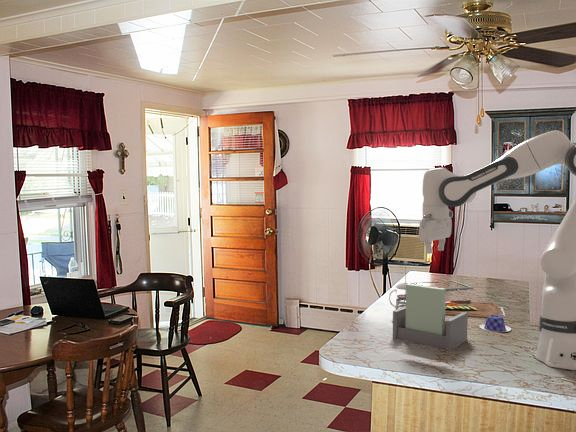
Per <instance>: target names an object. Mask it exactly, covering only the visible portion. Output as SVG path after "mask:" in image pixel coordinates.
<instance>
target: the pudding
mask: <svg viewBox="0 0 576 432" xmlns="http://www.w3.org/2000/svg"><path fill="white" fill-rule="evenodd" d="M479 328H480V329H481V330H484V331H488V332H492V333H506V332H510V331H511V330H512V328H511V327H510V326H507V325H506V324H505V319H504V316H498V315H489V316H488V317H487V318H486V321H485V323H482V324H480V325H479Z"/></svg>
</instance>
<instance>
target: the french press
mask: <svg viewBox="0 0 576 432" xmlns="http://www.w3.org/2000/svg"><path fill="white" fill-rule="evenodd" d="M403 264H405V266H404V268H405V271H404V272H405V275H404V276H405V277H404V278H405V280H404V281H405V282H403V283H402V282H401V283H399V284H396V286H395V289H393V290H392V291H390V294H389V297H388V300H389V303H390V305H391V306H392V307H393V308H394V309H395V310H397V309H400V308H401V307H405V306H406V302H403V301H404V300H405V301H406V284H409V283H407V281H406V280H407V279H406V278H407V277H406V276H407V264H409V262H408V261H407V260H404V261H403ZM397 289H398V290H404V293H403V294H397V291H398V290H397ZM393 292H395V293H396V294H397V295H396V299H395V304H393V303H392V300H391V295H392V293H393ZM402 304H404V305H402Z"/></svg>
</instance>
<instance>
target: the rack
mask: <svg viewBox="0 0 576 432" xmlns="http://www.w3.org/2000/svg"><path fill="white" fill-rule="evenodd" d="M399 308H400V309H399ZM399 308H398V309H397V310H396V309H394V310H393V311H392V339H395V340H399V341H405V342H410V343H415V344H417V345H418V344H419V345H424V346H428V347H433V348H438V349H443V350H448V351H451V350H453V349H455V348H456V347H457V346H460V345H461V344H463V343H464V342H466V341H468V318H469V317H468V313H467V312H463V313H461V314H459V315H457V316H451V317H450V318H447V319H448V320H446V332H445V336H443V335H438V334H432V333H427V332H422V331H417V330H412V329H406V306H405V307H402V308H401V307H399Z"/></svg>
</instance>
